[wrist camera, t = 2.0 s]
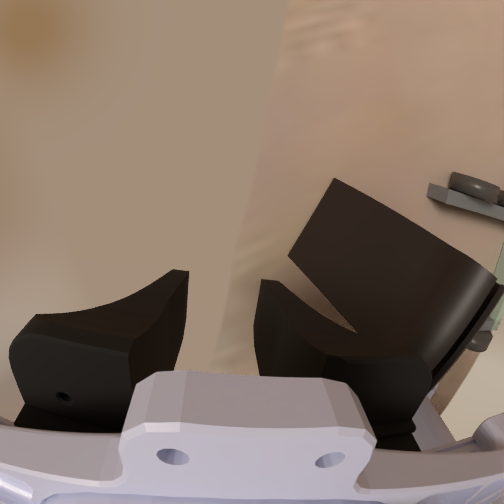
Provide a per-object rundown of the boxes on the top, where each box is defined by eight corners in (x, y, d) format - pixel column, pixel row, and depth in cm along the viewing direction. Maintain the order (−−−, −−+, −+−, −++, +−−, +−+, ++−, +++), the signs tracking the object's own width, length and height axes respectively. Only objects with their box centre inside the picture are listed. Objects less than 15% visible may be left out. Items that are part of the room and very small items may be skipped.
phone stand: (423, 239, 22) (533, 317, 11) (381, 303, 24) (462, 409, 12) (333, 176, 20) (444, 227, 9) (286, 253, 22) (340, 373, 10)
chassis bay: (477, 328, 26) (499, 349, 22) (386, 329, 24) (406, 358, 21) (520, 199, 21) (550, 210, 17) (432, 166, 20) (466, 174, 16)
